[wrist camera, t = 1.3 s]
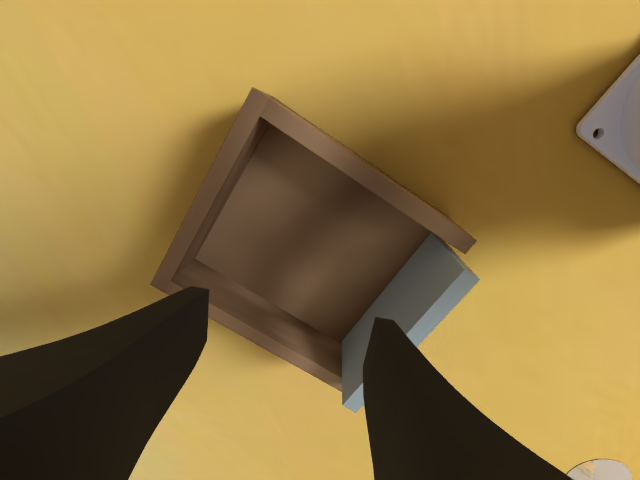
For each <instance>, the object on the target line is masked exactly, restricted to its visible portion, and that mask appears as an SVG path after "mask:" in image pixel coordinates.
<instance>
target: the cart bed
mask: <svg viewBox="0 0 640 480" xmlns="http://www.w3.org/2000/svg"><path fill="white" fill-rule="evenodd" d="M431 232H432V233H434V234H435V235H437V236H438V237H440V238H441V239H443V240H445V241H446V242H448V243H449V244H451V245H452V246H454V247H455V248H457V249H458V250H460V251H461V252H463V253H464V254H466V253H467V251H468V250H469V249H470V248H471V247H472V246H473V245H474V243H475V242H476V240H475V239H474V238H473V237H472V236H470V235H469V234H468V233H467V232H466V231H464V230H463V229H462V228H461V227H460V226H458V225H457V224H456V223H455V222H454V221H452V220H451V219H450V218H449V217H447V216H446V215H444V214H443V213H441V212H440V211H438V210H437V209H435V208H434V207H433V206H431V205H430V204H428V203H427V202H425V201H424V200H422V199H421V198H419V197H418V196H417V195H415V194H414V193H412V192H411V191H409V190H408V189H406V188H405V187H403V186H402V185H401V184H399V183H398V182H396V181H395V180H393V179H392V178H390V177H389V176H387V175H386V174H384V173H383V172H382V171H380V170H379V169H377V168H376V167H374V166H373V165H371V164H370V163H368V162H367V161H366V160H364V159H363V158H361V157H360V156H358V155H357V154H355V153H354V152H352V151H351V150H349V149H348V148H347V147H345V146H344V145H342V144H341V143H339V142H338V141H336V140H335V139H333V138H332V137H331V136H329V135H328V134H326V133H325V132H323V131H322V130H320V129H319V128H317V127H316V126H315V125H313V124H312V123H310V122H309V121H307V120H306V119H304V118H303V117H301V116H300V115H298V114H297V113H296V112H294V111H293V110H291V109H290V108H288V107H287V106H285V105H284V104H282V103H281V102H280V101H278V100H277V99H275V98H274V97H272V96H270V95H268V94H266V93H264V92H262V91H259V90H257V89H255V88H253V87H252V89H251V91H250V93H249V95H248V97H247V99H246V100H245V102H244V104H243V106H242V108H241V110H240V112H239V114H238V116H237V118H236V120H235V122H234V124H233V126H232V128H231V129H230V131H229V133H228V135H227V137H226V139H225V141H224V143H223V145H222V147H221V149H220V151H219V153H218V155H217V157H216V158H215V160H214V162H213V164H212V166H211V168H210V170H209V172H208V174H207V176H206V178H205V180H204V182H203V184H202V186H201V187H200V189H199V191H198V193H197V195H196V197H195V199H194V201H193V203H192V205H191V207H190V209H189V211H188V213H187V215H186V216H185V218H184V220H183V222H182V224H181V226H180V228H179V230H178V232H177V234H176V236H175V238H174V240H173V242H172V244H171V245H170V247H169V249H168V251H167V253H166V255H165V257H164V259H163V261H162V263H161V265H160V267H159V269H158V271H157V273H156V274H155V276H154V278H153V280H152V282H151V284H150V285H152V286H154V287H155V288H157V289H159V290H161V291H163V292H164V293H166V294H168V295H172V294H174V293H176V292H178V291H180V290H183V289H185V288H187V287H190V286H194V287H200V288H206V289H209V307H208V317H209V318H211V319H213V320H214V321H216V322H218V323H220V324H221V325H223V326H225V327H227V328H229V329H230V330H232V331H234V332H236V333H238V334H239V335H241V336H243V337H245V338H246V339H248V340H250V341H252V342H254V343H255V344H257V345H259V346H261V347H263V348H264V349H266V350H268V351H270V352H271V353H273V354H275V355H277V356H279V357H280V358H282V359H284V360H286V361H287V362H289V363H291V364H293V365H295V366H296V367H298V368H300V369H302V370H304V371H305V372H307V373H309V374H311V375H312V376H314V377H316V378H318V379H320V380H321V381H323V382H325V383H327V384H329V385H330V386H332V387H334V388H336V389H337V390H339V391H341V392H342V340H343V339H344V338H345V337H346V335H347V334H348V333H349V332H350V331H351V329H352V328H353V327H354V326H355V325H356V323H357V322H358V321H359V320H360V318H361V317H362V316H363V315H364V314H365V312H366V311H367V310H368V309H369V307H370V306H371V305H372V304H373V303H374V301H375V300H376V299H377V298H378V296H379V295H380V294H381V293H382V292H383V290H384V289H385V288H386V287H387V286H388V284H389V283H390V282H391V281H392V279H393V278H394V277H395V276H396V275H397V273H398V272H399V271H400V270H401V268H402V267H403V266H404V265H405V264H406V262H407V261H408V260H409V259H410V257H411V256H412V255H413V254H414V253H415V251H416V250H417V249H418V248H419V247H420V245H421V244H422V243H423V242H424V240H425V239H426V238H427V237H428V236H429V234H430V233H431Z"/></svg>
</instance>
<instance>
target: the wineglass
mask: <svg viewBox="0 0 640 480" xmlns="http://www.w3.org/2000/svg"><path fill="white" fill-rule="evenodd" d="M567 475H568V476H569V477H571V478H572V479H574V480H632V475H631V471H630V470H629V469H628V467H627V466H625V465H624V464H622V463H620V462H618V461H614V460H610V459H598V460H593V461H588V462H585V463H583V464H580V465H578V466H576V467H575V468H574V469H572V470H571V471H570V472H569V473H568V474H567Z"/></svg>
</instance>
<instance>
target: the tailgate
mask: <svg viewBox="0 0 640 480" xmlns="http://www.w3.org/2000/svg"><path fill="white" fill-rule="evenodd" d="M479 280H480V279H479V278H478V277H477V276H476V275H475V274H474V273H473V272H472V271H471V270H470V268H469V267H468V266H467V265H466V264H465V263H464V262H463V261H462V260H461V259H460V258H459V256H458V255H457V254H456V253H455V252H454V251H453V250H452V249H451V248H450V247H449V246H448V245H447V243H446V242H445V241H444V240H443V239H441V238H440V237H438V236H437V235H435V234H434V233H432V232H431V233H430V234H429V236H428V237H427V238H426V239H425V240H424V242H423V243H422V244H421V245H420V247H419V248H418V249H417V250H416V251H415V253H414V254H413V255H412V256H411V257H410V259H409V260H408V261H407V262H406V264H405V265H404V266H403V267H402V268H401V270H400V271H399V272H398V273H397V275H396V276H395V277H394V278H393V279H392V281H391V282H390V283H389V284H388V286H387V287H386V288H385V289H384V290H383V292H382V293H381V294H380V295H379V296H378V298H377V299H376V300H375V301H374V303H373V304H372V305H371V306H370V307H369V309H368V310H367V311H366V312H365V314H364V315H363V316H362V317H361V318H360V320H359V321H358V322H357V323H356V325H355V326H354V327H353V328H352V329H351V331H350V332H349V333H348V334H347V335H346V337H345V338H344V339H343V340H342V405H343V406H345V407H346V408H348V409H350V410H352V411H354V412H355V413H356V412H357V411H358V410H359V409H360V408H361V407H362V406H363V405H364V398H363V363H364V359H365V356H366V352H367V348H368V344H369V340H370V336H371V332H372V328H373V324H374V320H375V317H379V318H385V319H391V320H394V321H395V322H396V323H397V324H398V326H399V327H400V328H401V329H402V330H403V332H404V333H405V334H406V335H407V337H408V338H409V339H410V340H411V341H412V343H413V344H414V345H415V346H416V347H418V346H419V344H420V343H421V342H422V341H423V340H424V339H425V338H426V337H427V336H428V335H429V334H430V333H431V332H432V331H433V329H434V328H435V327H436V326H437V325H438V324H439V323H440V322H441V321H442V320H443V319H444V318H445V317H446V315H447V314H448V313H449V312H450V311H451V310H452V309H453V308H454V307H455V306H456V305H457V304H458V303H459V302H460V300H461V299H462V298H463V297H464V296H465V295H466V294H467V293H468V292H469V291H470V290H471V289H472V288H473V287H474V285H475V284H476V283H477V282H478V281H479Z"/></svg>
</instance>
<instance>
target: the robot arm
mask: <svg viewBox="0 0 640 480" xmlns="http://www.w3.org/2000/svg"><path fill="white" fill-rule="evenodd" d="M596 129H597V130H598V135H597V136H596V137H595V138H594V137H593V132H594V131H595V130H596ZM576 133H577V135H578V136H579V137H580V138H581V139H583V140H584V141H585V142H586V143H588V144H589V145H590V146H592V147H593V148H594V149H595V150H597V151H598V152H599V153H601V154H602V155H603V156H604V157H606V158H607V159H608V160H609V161H611V162H612V163H613V164H615V165H616V166H617V167H618V168H620V169H621V170H622V171H623V172H625V173H626V174H627V175H629V176H630V177H631V178H632V179H634V180H635V181H636V182H637V183H639V184H640V54H639V55H638V56H637V57H636V58H635V59H634V61H633V62H632V63H631V64H630V65H629V66H628V67H627V68H626V70H625V71H624V72H623V73H622V74H621V75H620V76H619V78H618V79H617V80H616V81H615V82H614V83H613V84H612V86H611V87H610V88H609V89H608V90H607V91H606V92H605V93H604V95H603V96H602V97H601V98H600V99H599V100H598V101H597V103H596V104H595V105H594V106H593V107H592V108H591V109H590V110H589V112H588V113H587V114H586V115H585V116H584V117H583V118H582V120H581V121H580V122H579V123H578V125H577V127H576ZM208 307H209V289H206V288H200V287H194V286H190V287H187V288H185V289H183V290H180V291H178V292H176V293H174V294H172V295H170V296H168V297H166V298H163V299H161V300H159V301H157V302H155V303H153V304H151V305H148V306H146V307H144V308H142V309H140V310H138V311H135V312H133V313H131V314H128V315H126V316H123V317H121V318H119V319H116V320H114V321H112V322H109V323H107V324H104V325H102V326H99V327H97V328H94V329H91V330H88V331H86V332H83V333H80V334H77V335H74V336H71V337H68V338H65V339H62V340H59V341H55V342H52V343H48V344H45V345H41V346H38V347H34V348H30V349H27V350H23V351H19V352H16V353H12V354H8V355H4V356H0V480H128V479H129V477H130V475H131V473H132V471H133V469H134V467H135V465H136V463H137V461H138V459H139V457H140V455H141V453H142V451H143V449H144V448H145V446H146V444H147V442H148V441H149V439H150V437H151V435H152V434H153V432H154V430H155V429H156V427H157V426H158V424H159V422H160V421H161V419H162V418H163V416H164V415H165V413H166V411H167V410H168V408H169V407H170V405H171V404H172V402H173V401H174V399H175V397H176V396H177V394H178V393H179V391H180V390H181V388H182V386H183V385H184V383H185V382H186V380H187V378H188V377H189V375H190V374H191V372H192V370H193V369H194V367H195V365H196V363H197V361H198V359H199V357H200V355H201V352H202V350H203V348H204V346H205V344H206V341H207V328H208ZM363 398H364V405H365V413H366V420H367V427H368V434H369V441H370V448H371V455H372V462H373V470H374V479H375V480H574V479H572V478H571V477H569V476H568V475H566V474H565V473H563V472H562V471H560V470H559V469H557V468H556V467H554V466H553V465H551V464H550V463H548V462H547V461H545V460H544V459H542V458H541V457H539V456H538V455H536V454H535V453H534V452H532V451H531V450H529V449H528V448H527V447H525V446H524V445H522V444H521V443H520V442H518V441H517V440H516V439H514V438H513V437H512V436H510V435H509V434H508V433H507V432H505V431H504V430H503V429H501V428H500V427H499V426H497V425H496V424H495V423H494V422H492V421H491V420H490V419H489V418H488V417H486V416H485V415H484V414H483V413H481V412H480V411H479V410H478V409H477V408H476V407H475V406H474V405H472V404H471V403H470V402H469V401H468V400H467V399H466V398H465V397H463V396H462V395H461V394H460V393H459V392H458V391H457V390H456V389H455V388H454V387H453V386H452V385H451V384H450V383H449V382H448V381H447V380H446V379H445V378H444V377H443V376H442V375H441V374H440V373H439V372H438V371H437V370H436V369H435V368H434V367H433V366H432V364H431V363H430V362H429V361H428V360H427V359H426V358H425V357H424V355H423V354H422V353H421V352H420V351H419V350H418V349H417V347H416V346H415V345H414V344H413V343H412V341H411V340H410V339H409V338H408V337H407V335H406V334H405V333H404V332H403V330H402V329H401V328H400V327H399V326H398V324H397V323H396V322H395V321H394V320H391V319H385V318H379V317H375V320H374V324H373V328H372V332H371V336H370V340H369V344H368V348H367V352H366V356H365V359H364V363H363Z"/></svg>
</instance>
